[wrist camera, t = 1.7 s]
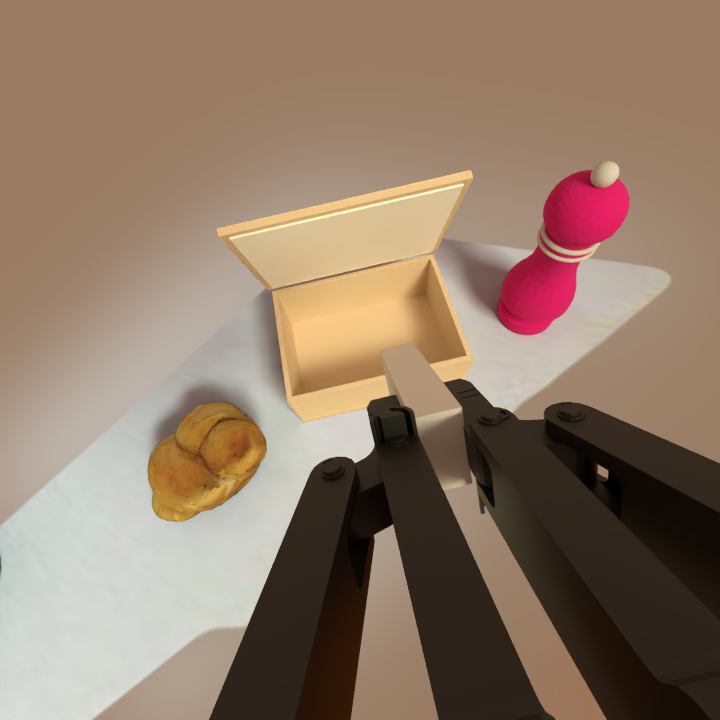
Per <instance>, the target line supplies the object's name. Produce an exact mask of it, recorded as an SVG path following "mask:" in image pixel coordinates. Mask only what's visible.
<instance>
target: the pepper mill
mask: <svg viewBox="0 0 720 720" xmlns="http://www.w3.org/2000/svg"><path fill="white" fill-rule="evenodd" d="M618 175H619V167H618V166H617V164H616V163H614V162H611V161H605V162H602V163H600V164H598V165H597V166H596V167H595V168H594V169H593V170H586V171H580V172H577V173H574V174H572V175H570V176H568V177H567V178H565V179H563V180H562V181H561V182H560V183H558V185H556V186H555V188H554V189H553V190H552V191H551V193H550V195H549V196H548V198H547V200H546V202H545V205H544V212H543V219H544V221H543V223H542V225H541V228H540V230H539V231H538V235H537V241H538V246H537V248H536V249H535V251H534V253H533V254H532V255H530V256H529V257H527V258H526V259H524V260H522V261H520V262H519V263H518V264H516V265H515V266H514V267H513V268H512V269H511V270H510V272H509V273H508V274H507V276H506V278H505V279H504V282H503V284H502V290H501V294H502V297H501V299H500V302H499V304H498V316H499V318H500V320H501V322H502V323H503V324H504V325H505V326H506V327H507V328H508V329H510V330H511V331H513V332H515V333H518V334H522V335H534V334H538V333H541V332H542V331H544V330H545V329H547V328H548V327H549V325H550V324H551V323H552V321H553V320H554V319H556V318H558V317H560V316H561V315H562V314H564V313H565V312H566V310H567V309H568V307H569V306H570V304H571V302H572V300H573V298H574V295H575V290H576V271H577V267H578V265H579V263H580V261H583V260H585V259H587V258H589V257H590V256H591V255H592V254H593V253H594V252H595V250H596V248H597V247H598V246H599V245H600V243H601V242H602V241H604V240H605V239H607V238H609V237H611V236H612V235H613V234H614V233H615V232H616V231H617V230H618V229H619V227H620V226H621V225H622V223H623V222H624V220H625V218H626V215H627V213H628V209H629V195H628V191H627V189H626V187H625V186H624V184H623V183H622V182H621V181H620V180H619V179H618Z"/></svg>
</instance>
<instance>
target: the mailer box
mask: <svg viewBox="0 0 720 720" xmlns="http://www.w3.org/2000/svg"><path fill="white" fill-rule="evenodd" d="M272 296H273V303H274V310H275V317H276V325H277V332H278V339H279V346H280V353H281V360H282V368H283V375H284V382H285V389H286V396H287V403H288V404H289V405H290V407H291V408H292V409H293V410H294V411H295V412H296V414H297V415H298V416H299V417H300V418H301V420H302V421H303V422H309V421H313V420H317V419H321V418H326V417H330V416H334V415H338V414H343V413H347V412H351V411H355V410H359V409H364V408H367V406H368V404H369V402H370V401H371V400H374V399H379V398H383V397H387V396H390V395H389V390H388V386H387V381H386V376H385V371H384V367H383V362H382V357H381V352H380V350H382V349H386V348H390V347H395V346H399V345H403V344H407V343H412V342H413V343H414V345H415V346H416V347H417V349H418V350H419V351H420V353H421V354H422V355H423V357H424V358H425V359H426V361H427V362H428V363H429V365H430V366H431V367H432V368H433V370H434V371H435V372H436V374H437V375H438V376H439V378H440V379H441V380H442V382H447V381H451V380H455V379H460V378H461V379H463V380H465V377H466V375H467V373H468V371H469V368H470V366H471V364H472V362H473V359H474V358H473V356H472V353H471V351H470V348H469V345H468V343H467V340H466V338H465V335H464V332H463V330H462V327H461V325H460V322H459V320H458V317H457V314H456V312H455V309H454V307H453V304H452V301H451V299H450V296H449V294H448V291H447V288H446V286H445V283H444V281H443V278H442V275H441V273H440V270H439V268H438V265H437V263H436V260H435V257H434V255H433V254H431V255H427V256H422V257H418V258H414V259H409V260H405V261H401V262H397V263H392V264H388V265H384V266H379V267H375V268H371V269H366V270H362V271H358V272H354V273H349V274H345V275H341V276H336V277H332V278H328V279H323V280H319V281H315V282H311V283H306V284H302V285H298V286H293V287H289V288H285V289H280V290H276V291H272Z"/></svg>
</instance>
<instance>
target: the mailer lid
mask: <svg viewBox="0 0 720 720" xmlns="http://www.w3.org/2000/svg"><path fill="white" fill-rule="evenodd" d="M472 179H473V176H472V172H471V170H469V171H465V172H460V173H456V174H452V175H448V176H443V177H439V178H435V179H430V180H426V181H422V182H417V183H413V184H408V185H404V186H400V187H396V188H391V189H387V190H382V191H378V192H374V193H370V194H365V195H361V196H356V197H352V198H348V199H344V200H339V201H335V202H331V203H326V204H322V205H318V206H313V207H309V208H304V209H300V210H296V211H291V212H287V213H283V214H278V215H274V216H270V217H265V218H261V219H257V220H253V221H248V222H244V223H239V224H235V225H231V226H226V227H222V228H218V229H217V232H218V237H219V238H220V239H221V240H222V241H223V242H224V243H225V244H226V245H227V246H228V247H229V249H230V250H231V251H232V252H233V253H234V254H235V255H236V256H237V257H238V258H239V259H240V260H241V261H242V262H243V264H245V266H246V267H247V268H248V269H249V270H250V271H251V272H252V273H253V274H254V275H255V276H256V278H257V279H258V280H259V281H260V282H261V283H262V284H263V285H264V286H265V287H266V288H267V289H268V290H270V289H274V288H279V287H283V286H287V285H292V284H296V283H300V282H304V281H309V280H313V279H317V278H322V277H326V276H330V275H335V274H339V273H343V272H347V271H352V270H356V269H360V268H365V267H369V266H373V265H378V264H382V263H386V262H390V261H395V260H399V259H403V258H408V257H412V256H416V255H421V254H425V253H429V252H433V251H436V250H437V248H438V246H439V244H440V242H441V240H442V238H443V236H444V234H445V233H446V231H447V228H448V226H449V224H450V223H451V221H452V219H453V217H454V215H455V213H456V211H457V209H458V206H459V205H460V203H461V201H462V199H463V197H464V195H465V193H466V191H467V189H468V187H469V185H470V183H471V181H472Z"/></svg>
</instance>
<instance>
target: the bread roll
mask: <svg viewBox="0 0 720 720" xmlns="http://www.w3.org/2000/svg"><path fill="white" fill-rule="evenodd" d="M266 451H267V448H266V439H265V437H264V435H263V433H262V431H261V430H260V429H259V428H258V426H257V425H256V424H255V423H254V422H253V421H252V420H251V419H249V418H248V417H247V415H246V414H244V413H242V412H241V411H240V410H239V409H238V408H236V407H235V406H233V405H231V404H230V403H225V402H212V403H208V404H205V405H202V404H201V405H200V406H198V407H197V408H195V409H194V410H193V411H192V412H190V413H189V414H188V415H187V416H186V417H185V418H184V419H183V420H182V421H181V423H180V424H179V426H178V429H177V431H176V432H175V433H173V434H171V435H170V436H168V437H166V438H165V439H164V440H162V441H161V442H160V443H159V444H158V445H157V446H156V447H155V448H154V450H153V451H152V453H151V455H150V458H149V463H148V480H149V484H150V487H151V489H152V491H153V497H152V508H153V511H154V512H155V514H156V515H157V516H158V517H159V518H161V519H164V520H167V521H175V522H181V521H185V520H187V519H190V518H192V517H194V516H195V515H197V514H198V513H200V512H203V511H207V510H212V509H213V508H215V507H217V506H220V505H222V504H223V503H224V502H226V501H227V500H228V499H230V498H231V497H233V496H234V495H235V494H237V493H238V492H239V491H240V490H241V489H242V488H243V487H244V486H245V485H246V484H247V483H248V482H249V481H250V479H251V478H252V477H253V476H254V474H255V473H256V471H257V469H258V467H259V465H260V462H261V461H262V460H263V458H264V457H265V454H266Z"/></svg>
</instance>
